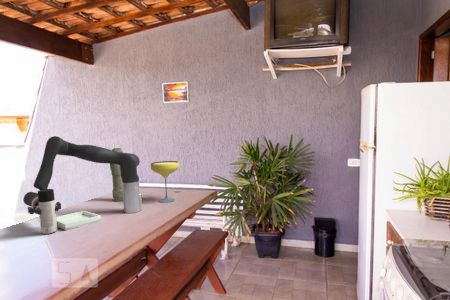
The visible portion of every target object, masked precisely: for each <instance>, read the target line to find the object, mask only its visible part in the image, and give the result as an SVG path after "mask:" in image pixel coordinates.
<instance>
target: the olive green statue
mask: <svg viewBox="0 0 450 300" xmlns="http://www.w3.org/2000/svg"><path fill="white" fill-rule="evenodd" d="M111 150H113V151H116V152H122V153H124V151H123V149H122V148H121V147H120V148H118V147H115V148H111ZM109 168H110V172H111V173H110V174H111V177H112V192H111V193H112V201H113V202H115V203H116V202H117V203H118V202H119V203H120V202H124V201H123V184H122V178H121V172H120V165H117V164H110V163H109Z"/></svg>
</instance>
